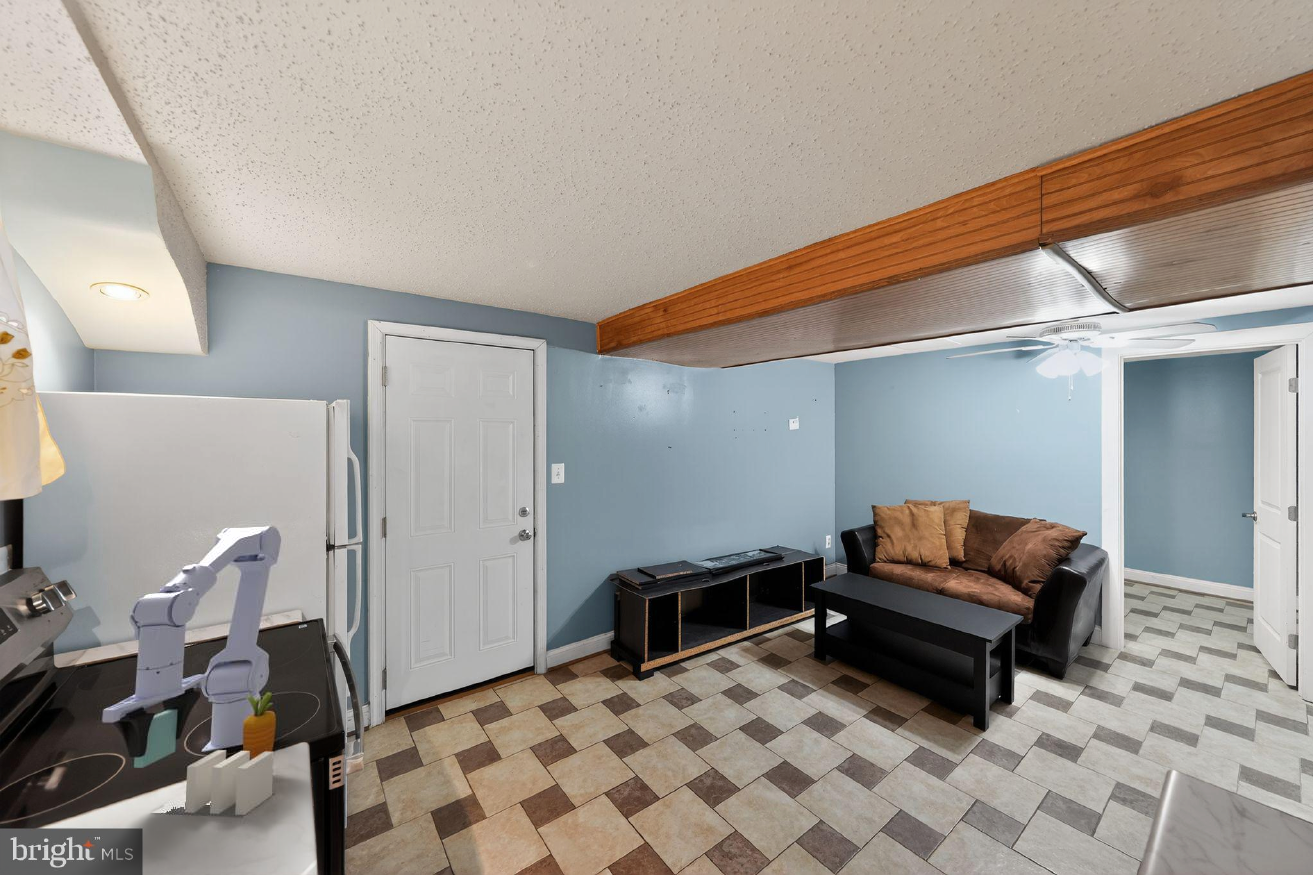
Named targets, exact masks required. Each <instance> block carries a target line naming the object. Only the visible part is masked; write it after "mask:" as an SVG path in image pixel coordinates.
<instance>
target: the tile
mask: <svg viewBox="0 0 1313 875" xmlns="http://www.w3.org/2000/svg"><path fill="white" fill-rule="evenodd" d="M177 711H178V709H169V710H167V711H165V710H164V711H162V712H160V713H157V714H155V715H154V717H153V720H152V722H151V725H150V728H149V732H148V739H147V749H146V752H145V755H144V756H142V757H134V762H133V763H134V764H133V768H135V769H136V768H137V769H138V768H140V769H141V768H142V769H143V768H145V767H147V766H149V765H152V764H153V763H155V762H157V761H159V760H161V759H163V758H165V757H167V756H169V755H171V754H173V753H175V752H176V743H177V740H176V728H177Z"/></svg>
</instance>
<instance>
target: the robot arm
mask: <svg viewBox="0 0 1313 875" xmlns="http://www.w3.org/2000/svg"><path fill="white" fill-rule="evenodd" d="M281 543H282V536H281V535H280V531H279V530H278V528H277V527H276V526H273V525H268V526H256V527H254V526H253V527H252V526H251V527H226V528H224V529H222V530H221V531H220V533H218V534H217V535H216V537H215V542H214V545H215V546H214V547H213V548H212V549H211V550H210V551H209V552H208V553H207V554H206V556H205V557H204V558H203V559H202V560H201V561H200V562H199V563H198V564H197V563H196V564H190V565H185V566H184V567H183V568H182V569H181V571H180V572H179V573H177V574H176V575H175V576H174V577H173V578H172V579H170V580H169V581H168V582H167V583H165V585H164V586H163V587H161V588H160V590H158V591H157V592H156V593H149V594H146V595H145V596H144V597H141V598H139V600H137V601H136V602H135V604H134V606H133V608H132V612H131V613H130V614H129V621H130V624H131V626H132V627H133V629H134V638H135V640H137V641H138V648H137V663H136V664H137V666H136V676H135V677H136V679H135V680H136V681H135V693H134V694H133V695H132V696H129V697H128V698H125V699H124V700H121V701H119V702H118V703H116V704H113V705H112V706H109V707H106V708H104V709H103V710H102V718H101V719H102V720H101V721H102V723H112V724H113V725H114V726H115V727H116V728H117V730H118V731H119V733H120V735H121V736H122V739H123V740H124V742H125V745H126V749H127V752H128V756H129V758H135V757H142V756H144V755H145V752H146V749H147V739H148V732H149V728H150V725H151V722H152V720H153V717H154V716H155V715H156V713H155V712H147V710H145V709H147V708H150V707H152V706H154V705H157V704H159V703H161V704H162V705H163V709H164V711H167V710H169V709H178V711H177V728H176V741H177V740H179V739H181V737H182V734H183V731H184V729H185V725H186V723H187V720H188V718H189V716H190V715H191V712H192V710H193V708H194V707H195V705H196V703H197V702H198V700H199V699H200V698H201V692H202V693H203V695H204V697H206V698H208V702H209V703H210V702H211V703H212V709H211V710H212V711H211V727H210V730H211V731H210V741H209V742H208V743H207V744H206V745H205V746H204V747H203V748H202V749H201V753H202V752H203V753H205V752H210V751H217V750H222V749H225V748H231V747H236V746H241V745H242V746H243V723H244V720H245V719H246V718H247V717H249V716H251V715H253V714H254V710H253V707H252V705H251V703H250V701H249V700H248V698H249V697H250V696H252V697H253V698H254V700H256V699H257V698H259V699H260V701H259V705H258V709H259V706H260V703H261V695H260V691H261V690H263V688H264V687H265V686H266V684H267V682H268V678H269V675H270V668H269V660H270V658H269V657H270V655H269V653H268V652H266V651H265V650H264V649H262V648H261V647H260V646H258V645H257V642H258V636H259V631H260V625H261V621H262V615H263V610H264V606H265V605H264V604H265V600H266V594H267V589H268V583H269V578H270V572H271V568H272V567H273V566H274V565H276V564H277V563H278V559H279V556H280V551H281V550H280V549H281ZM228 565H230V566H231V567H234V568H237V569H238V570H239V571H240V578H239V581H238V587H237V592H236V598H235V603H234V608H233V612H232V615H231V621H230V626H229V629H228V635H227V641H226V646H225V648H223V650H221V651H220V652H218V653H217V654H216V655H214V656H213V657H211V659H210V660H209V664H208V667H207V670H206V671H205V673H204V674H195V675H192V676H190V677H186V678H183V677H184V662H185V660H184V658H185V644H186V642H185V641H186V625H187V624H188V622H190V621H191V620H192V619H193V617H194V615H195V613H196V609H197V607H198V606H199V604H200V602H201V601H200V600H201V599H202V598H203V597H204V596H205V594H207V593H208V592H209V591H210V590H211V589H213V587H214V585H216V583H217V581H218V580H217V579H218V577H217V574H219V573H221V571H223V570H224V569H225V568H226V567H227V566H228ZM245 660H246V662H244V661H245ZM234 661H243V662H237V663H231V662H234ZM197 688H200V689H201V691H200V690H195V689H197Z"/></svg>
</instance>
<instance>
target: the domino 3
mask: <svg viewBox="0 0 1313 875" xmlns="http://www.w3.org/2000/svg"><path fill="white" fill-rule="evenodd" d="M274 753H275V752H274V751H272V752H266V751H265V752H263V753H262V754H260V755H258V756H257V757H255V758H254V759H252V760H250V761H249V762H247V763H245V764H244V765H242V766H240V767H239V768H237V788H236V810H235V815H245V814H247V813H248V812H249V811H251V810H252V809H254V808H255V807H256V806H258V805H259V804H261V803H262V802H263V801H265V800H266V799H268V798H269V797H270V796H272V793H273V782H274V781H273V779H274V778H273V777H274V775H273V774H274V773H273V772H274V757H275V756H274V755H275V754H274ZM272 797H273V796H272ZM269 799H270V798H269ZM269 799H268V800H269ZM266 801H267V800H266ZM266 801H265V802H266ZM262 804H263V803H262ZM262 804H261V805H262ZM259 806H260V805H259ZM259 806H258V807H259ZM255 809H256V808H255ZM255 809H254V810H255ZM252 811H253V810H252ZM252 811H251V812H252ZM248 814H249V813H248ZM248 814H247V815H248ZM245 816H246V815H245Z"/></svg>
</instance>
